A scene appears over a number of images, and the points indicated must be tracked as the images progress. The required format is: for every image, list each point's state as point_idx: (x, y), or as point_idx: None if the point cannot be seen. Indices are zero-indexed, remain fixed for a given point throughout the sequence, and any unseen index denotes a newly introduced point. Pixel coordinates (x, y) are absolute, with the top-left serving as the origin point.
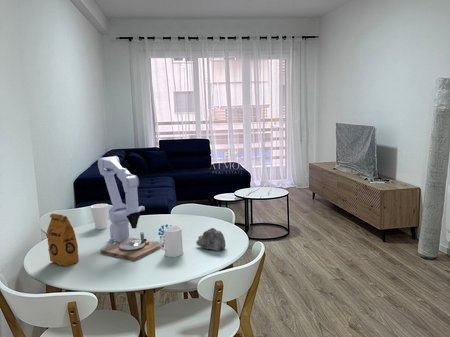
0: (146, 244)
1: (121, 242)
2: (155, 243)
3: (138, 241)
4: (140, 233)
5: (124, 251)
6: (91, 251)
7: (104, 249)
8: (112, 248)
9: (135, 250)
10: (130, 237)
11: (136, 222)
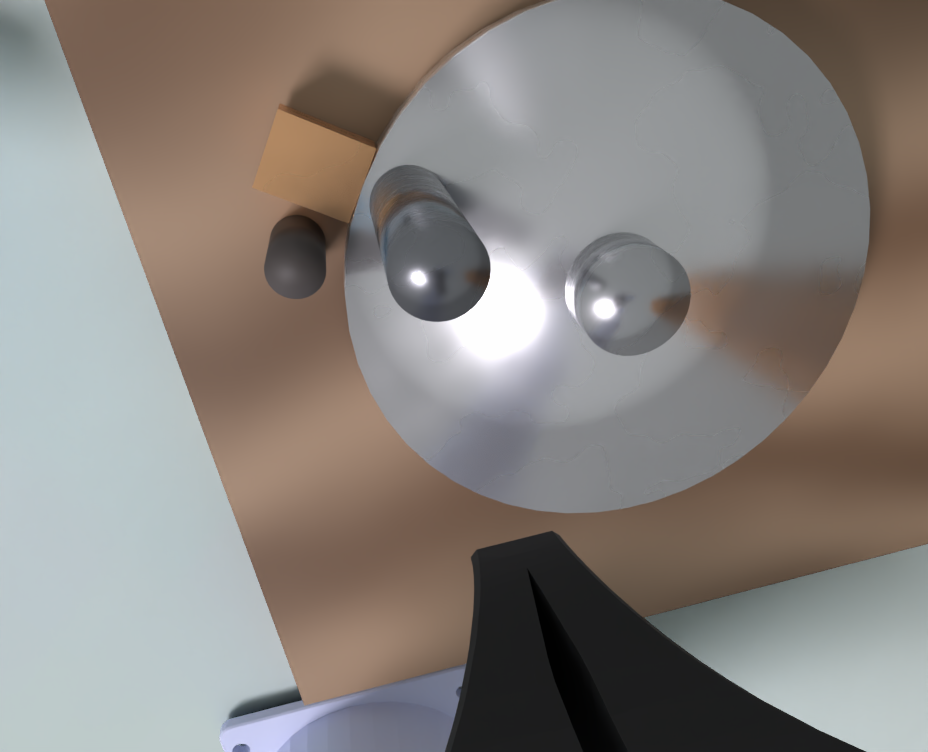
0: None
1: None
2: (145, 10)
3: (434, 325)
4: (488, 276)
5: None
6: (916, 643)
7: (911, 515)
8: (829, 464)
9: None
10: (310, 702)
11: (535, 653)
